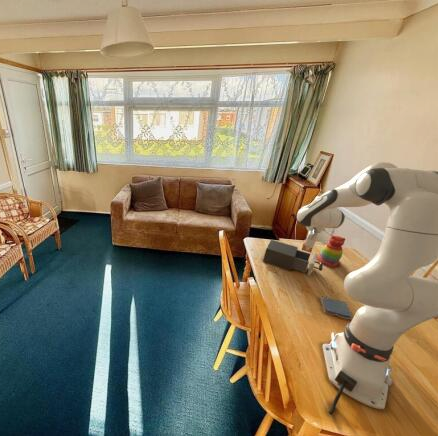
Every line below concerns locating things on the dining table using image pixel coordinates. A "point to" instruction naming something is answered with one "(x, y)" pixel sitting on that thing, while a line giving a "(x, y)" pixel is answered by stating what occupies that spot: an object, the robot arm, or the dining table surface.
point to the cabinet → (280, 254)
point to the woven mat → (335, 307)
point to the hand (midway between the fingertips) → (307, 246)
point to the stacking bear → (332, 251)
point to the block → (305, 247)
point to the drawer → (305, 262)
